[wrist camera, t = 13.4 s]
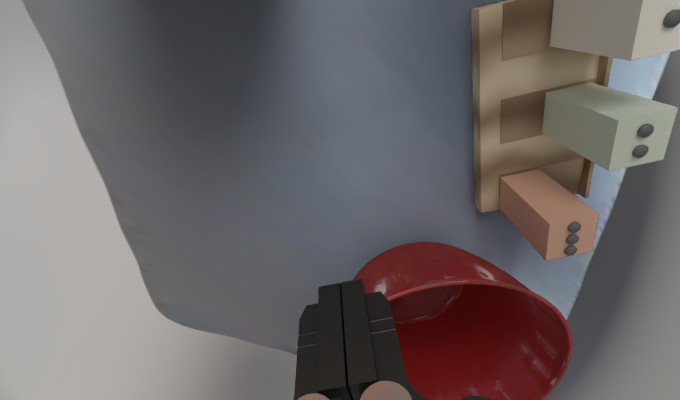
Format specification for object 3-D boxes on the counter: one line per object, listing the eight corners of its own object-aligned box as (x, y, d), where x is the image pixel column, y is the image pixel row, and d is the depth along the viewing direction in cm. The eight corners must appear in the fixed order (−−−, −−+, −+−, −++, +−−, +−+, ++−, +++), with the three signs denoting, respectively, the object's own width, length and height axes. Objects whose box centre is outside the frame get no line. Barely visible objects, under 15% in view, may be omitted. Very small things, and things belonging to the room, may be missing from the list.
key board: (571, 185, 44) (588, 197, 41) (474, 205, 45) (485, 218, 42) (600, -23, 32) (627, -26, 30) (470, 9, 33) (484, 9, 30)
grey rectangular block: (549, 46, 33) (633, 61, 24) (554, -7, 31) (648, -12, 22) (596, 35, 33) (699, 46, 24) (604, -19, 31) (720, -29, 22)
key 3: (499, 208, 42) (547, 262, 33) (500, 177, 40) (551, 225, 31) (536, 201, 42) (593, 253, 33) (538, 169, 40) (601, 215, 31)
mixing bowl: (317, 197, 43) (316, 284, 29) (533, 202, 45) (624, 285, 31) (314, 344, 57) (312, 448, 43) (479, 342, 59) (526, 442, 45)
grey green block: (542, 132, 38) (610, 172, 29) (545, 92, 35) (620, 121, 26) (583, 123, 37) (665, 160, 28) (589, 82, 35) (680, 108, 26)
